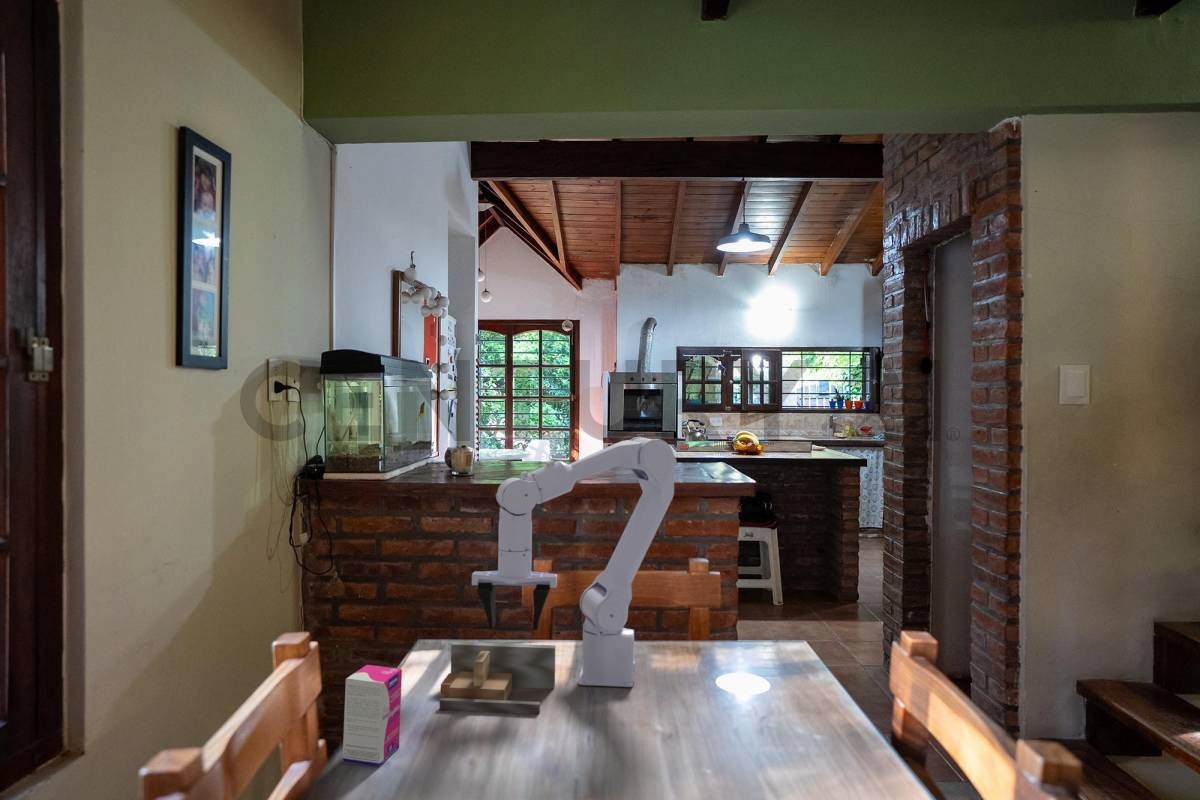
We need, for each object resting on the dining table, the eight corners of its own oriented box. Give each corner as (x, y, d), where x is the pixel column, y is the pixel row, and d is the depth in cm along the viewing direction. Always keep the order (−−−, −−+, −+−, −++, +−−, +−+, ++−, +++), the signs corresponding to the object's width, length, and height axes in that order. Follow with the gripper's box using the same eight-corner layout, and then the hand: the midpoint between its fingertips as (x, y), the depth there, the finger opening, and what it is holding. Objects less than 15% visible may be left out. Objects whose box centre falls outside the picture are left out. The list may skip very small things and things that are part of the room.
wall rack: (554, 685, 125) (555, 645, 125) (545, 714, 114) (545, 670, 114) (451, 681, 126) (451, 641, 126) (431, 709, 115) (432, 665, 115)
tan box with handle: (511, 690, 123) (512, 650, 123) (503, 708, 116) (504, 665, 116) (460, 688, 124) (460, 648, 124) (449, 705, 117) (449, 662, 117)
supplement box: (381, 768, 96) (382, 682, 96) (341, 763, 98) (342, 678, 98) (401, 747, 102) (402, 667, 102) (363, 743, 103) (364, 663, 103)
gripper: (467, 552, 120) (466, 633, 120) (553, 554, 119) (552, 636, 119) (477, 543, 127) (476, 620, 127) (559, 546, 126) (558, 623, 126)
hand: (514, 627), depth 124 cm, fingers open, 7 cm apart
